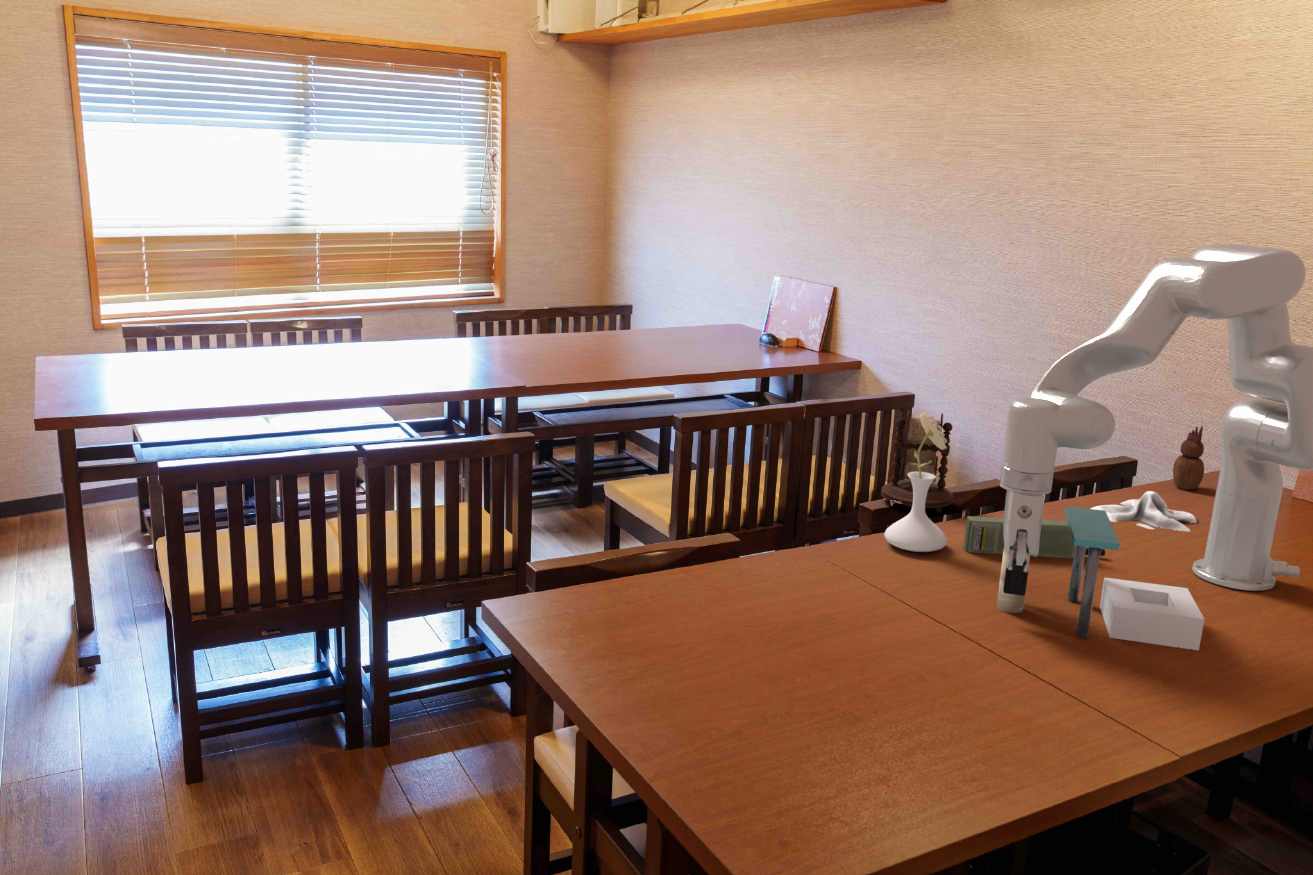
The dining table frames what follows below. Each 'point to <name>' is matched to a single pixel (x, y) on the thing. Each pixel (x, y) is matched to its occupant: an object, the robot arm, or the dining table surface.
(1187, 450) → the wooden figurine
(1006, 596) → the peg
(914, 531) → the flower in vase
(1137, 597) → the socket block
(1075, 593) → the small teal stool
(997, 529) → the handheld radio
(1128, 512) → the cloth
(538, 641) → the dining table surface
